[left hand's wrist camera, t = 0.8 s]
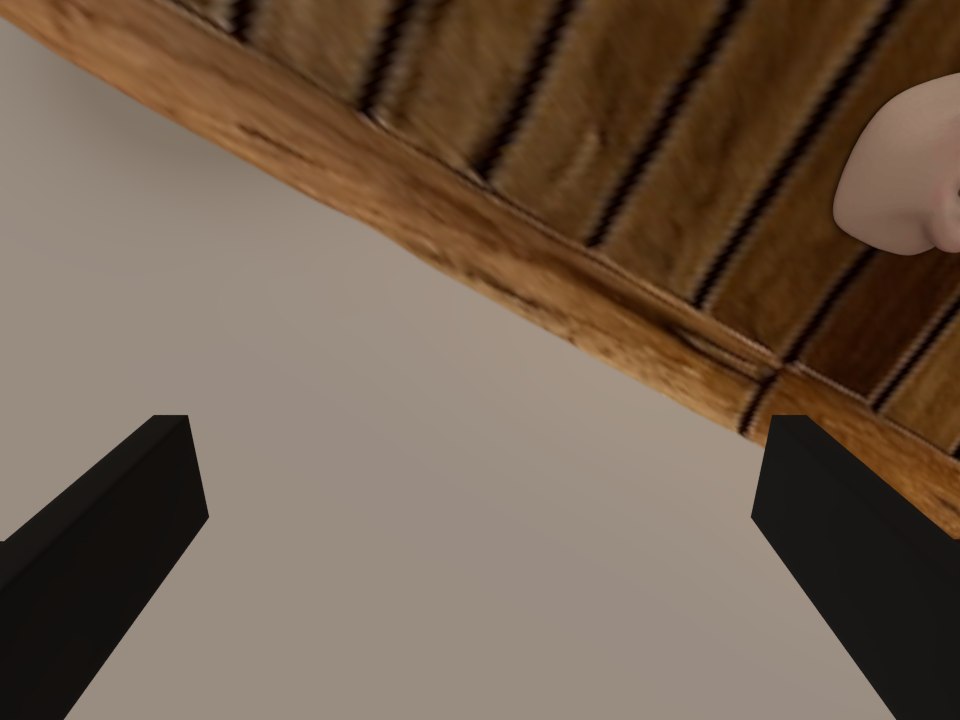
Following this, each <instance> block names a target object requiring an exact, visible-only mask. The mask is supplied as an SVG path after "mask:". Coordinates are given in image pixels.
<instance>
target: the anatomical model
mask: <svg viewBox="0 0 960 720" xmlns="http://www.w3.org/2000/svg"><path fill="white" fill-rule="evenodd" d="M833 216H834V220H835V222H836V223H837V225H838V226H839V227H840V228H841V229H842V230H843V231H845V232H846V233H848V234H849V235H851V236H853V237H855V238H857V239H859V240H861V241H862V242H864V243H866V244H868V245H871V246H873V247H875V248H878V249H881V250H885V251H888V252H892V253H895V254H900V255H914V254H918V253H922V252H924V251H927V250H929V249H931V248H933V247H935V246H936V247H937V248H938V249H940V250H942V251H945V252H950V253H956V252H960V73H956V74H952V75H948V76H944V77H941V78H938V79H934V80H931V81H928V82H925V83H922V84H920V85H917V86H914V87H912V88H910V89H908V90H906V91H904V92H902V93H900V94H899V95H897V96H895V97H894V98H892V99H891V100H890V101H889V102H888V103H886V104H885V105H884V106H883V107H882V108H881V109H880V110H879V111H878V112H877V113H876V115H875V116H874V117H873V118H872V120H871V121H870V122H869V124H868V125H867V127H866V128H865V130H864V131H863V133H862V134H861V136H860V138H859V139H858V141H857V143H856V145H855V147H854V149H853V151H852V153H851V155H850V157H849V159H848V162H847V164H846V166H845V169H844V171H843V174H842V176H841V179H840V181H839V184H838V188H837V191H836V194H835V198H834V203H833Z"/></svg>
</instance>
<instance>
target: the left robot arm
mask: <svg viewBox="0 0 960 720" xmlns="http://www.w3.org/2000/svg"><path fill="white" fill-rule="evenodd" d="M208 518H209V514H208V509H207V505H206V500H205V495H204V490H203V485H202V481H201V476H200V471H199V466H198V461H197V457H196V452H195V447H194V442H193V438H192V433H191V428H190V423H189V418H188V415H153V416H152V417H151V418H150V419H149V420H147V421H146V422H145V423H144V424H143V425H141V426H140V427H139V428H138V429H137V430H136V431H134V432H133V433H132V434H131V435H130V436H128V437H127V438H126V439H125V440H124V441H122V442H121V443H120V444H119V445H118V446H117V447H115V448H114V449H113V450H112V451H111V452H109V453H108V454H107V455H106V456H105V457H104V458H102V459H101V460H100V461H99V462H98V463H96V464H95V465H94V466H93V467H92V468H90V469H89V470H88V471H87V472H86V473H85V474H83V475H82V476H81V477H80V478H79V479H77V480H76V481H75V482H74V483H73V484H72V485H70V486H69V487H68V488H67V489H66V490H64V491H63V492H62V493H61V494H60V495H58V496H57V497H56V498H55V499H54V500H53V501H51V502H50V503H49V504H48V505H47V506H45V507H44V508H43V509H42V510H41V511H40V512H38V513H37V514H36V515H35V516H34V517H32V518H31V519H30V520H29V521H28V522H26V523H25V524H24V525H23V526H22V527H21V528H19V529H18V530H17V531H16V532H15V533H13V534H12V535H11V536H10V537H9V538H7V539H6V540H5V541H0V720H64V718H65V717H66V716H67V714H68V713H69V712H70V710H71V709H72V707H73V706H74V705H75V703H76V702H77V700H78V699H79V698H80V696H81V695H82V693H83V692H84V691H85V689H86V688H87V687H88V685H89V684H90V682H91V681H92V680H93V678H94V677H95V675H96V674H97V673H98V671H99V670H100V668H101V667H102V666H103V664H104V663H105V661H106V660H107V659H108V657H109V656H110V654H111V653H112V652H113V650H114V649H115V647H116V646H117V645H118V643H119V642H120V641H121V639H122V638H123V636H124V635H125V633H126V632H127V631H128V629H129V628H130V627H131V625H132V624H133V622H134V621H135V620H136V618H137V617H138V615H139V614H140V613H141V611H142V610H143V609H144V607H145V606H146V604H147V603H148V602H149V600H150V599H151V597H152V596H153V595H154V593H155V592H156V590H157V589H158V588H159V586H160V585H161V583H162V582H163V581H164V579H165V578H166V577H167V575H168V574H169V572H170V571H171V570H172V568H173V567H174V565H175V564H176V563H177V561H178V560H179V558H180V557H181V556H182V554H183V553H184V551H185V550H186V549H187V547H188V546H189V545H190V543H191V542H192V540H193V539H194V538H195V536H196V535H197V533H198V532H199V531H200V529H201V528H202V526H203V525H204V524H205V522H206V521H207V519H208ZM751 518H752V519H753V521H754V522H755V524H756V525H757V526H758V528H759V529H760V531H761V532H762V533H763V535H764V536H765V538H766V539H767V540H768V542H769V543H770V545H771V546H772V547H773V549H774V550H775V551H776V553H777V554H778V556H779V557H780V558H781V560H782V561H783V563H784V564H785V565H786V567H787V568H788V570H789V571H790V572H791V574H792V575H793V577H794V578H795V579H796V581H797V582H798V584H799V585H800V586H801V588H802V589H803V590H804V592H805V593H806V595H807V596H808V597H809V599H810V600H811V602H812V603H813V604H814V606H815V607H816V609H817V610H818V611H819V613H820V614H821V616H822V617H823V618H824V620H825V621H826V622H827V624H828V625H829V627H830V628H831V629H832V631H833V632H834V634H835V635H836V636H837V638H838V639H839V641H840V642H841V643H842V645H843V646H844V647H845V649H846V650H847V652H848V653H849V654H850V656H851V657H852V659H853V660H854V661H855V663H856V664H857V666H858V667H859V668H860V670H861V671H862V673H863V674H864V675H865V677H866V678H867V679H868V681H869V682H870V684H871V685H872V686H873V688H874V689H875V691H876V692H877V693H878V695H879V696H880V698H881V699H882V700H883V702H884V703H885V705H886V706H887V707H888V709H889V710H890V712H891V713H892V714H893V716H894V717H895V719H896V720H960V539H953V538H951V537H950V536H949V535H948V534H947V533H945V532H944V531H943V530H942V529H941V528H940V527H938V526H937V525H936V524H935V523H934V522H932V521H931V520H930V519H929V518H928V517H926V516H925V515H924V514H923V513H922V512H921V511H919V510H918V509H917V508H916V507H915V506H913V505H912V504H911V503H910V502H909V501H907V500H906V499H905V498H904V497H903V496H902V495H900V494H899V493H898V492H897V491H896V490H894V489H893V488H892V487H891V486H890V485H889V484H887V483H886V482H885V481H884V480H883V479H881V478H880V477H879V476H878V475H877V474H875V473H874V472H873V471H872V470H871V469H870V468H868V467H867V466H866V465H865V464H864V463H862V462H861V461H860V460H859V459H858V458H856V457H855V456H854V455H853V454H852V453H851V452H849V451H848V450H847V449H846V448H845V447H843V446H842V445H841V444H840V443H839V442H838V441H836V440H835V439H834V438H833V437H832V436H830V435H829V434H828V433H827V432H826V431H824V430H823V429H822V428H821V427H820V426H819V425H817V424H816V423H815V422H814V421H813V420H811V419H810V418H809V417H808V416H807V415H772V418H771V423H770V428H769V433H768V437H767V442H766V447H765V452H764V457H763V462H762V466H761V471H760V476H759V481H758V486H757V490H756V495H755V500H754V505H753V509H752V514H751Z"/></svg>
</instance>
